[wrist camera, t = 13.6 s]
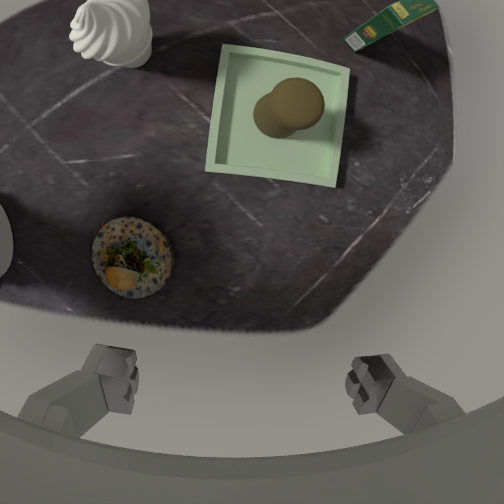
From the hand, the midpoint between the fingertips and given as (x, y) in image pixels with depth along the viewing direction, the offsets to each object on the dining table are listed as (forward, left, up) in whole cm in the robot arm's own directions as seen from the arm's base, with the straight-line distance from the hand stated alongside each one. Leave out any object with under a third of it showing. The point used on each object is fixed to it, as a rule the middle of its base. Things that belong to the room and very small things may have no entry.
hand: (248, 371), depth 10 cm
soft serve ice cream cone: (-14, +20, -29) cm, 38 cm away
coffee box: (+16, +28, -29) cm, 44 cm away
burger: (-12, -7, -30) cm, 33 cm away
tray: (+5, +13, -29) cm, 32 cm away
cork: (+5, +13, -29) cm, 32 cm away
